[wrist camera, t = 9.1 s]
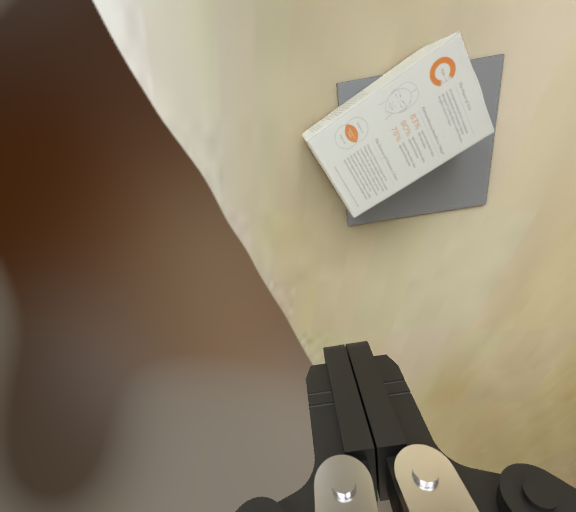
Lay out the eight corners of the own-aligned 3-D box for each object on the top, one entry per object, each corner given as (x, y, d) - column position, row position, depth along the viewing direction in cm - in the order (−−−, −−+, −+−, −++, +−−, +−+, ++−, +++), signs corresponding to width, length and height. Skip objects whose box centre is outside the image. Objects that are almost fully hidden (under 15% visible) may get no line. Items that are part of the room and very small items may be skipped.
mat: (336, 83, 29) (337, 83, 29) (501, 54, 29) (504, 53, 28) (347, 224, 35) (348, 226, 35) (483, 203, 35) (486, 204, 34)
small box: (340, 200, 34) (457, 126, 31) (353, 220, 28) (498, 132, 25) (299, 132, 31) (425, 43, 28) (304, 139, 25) (463, 28, 22)
